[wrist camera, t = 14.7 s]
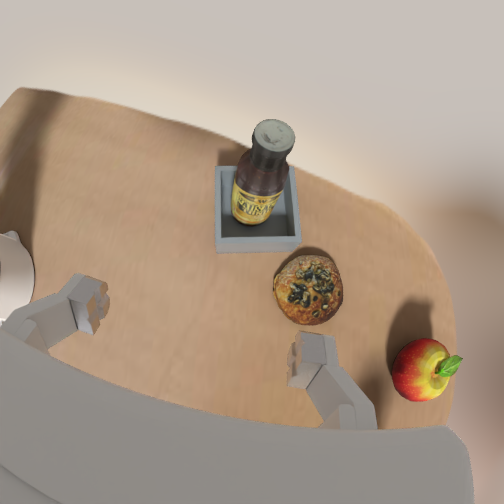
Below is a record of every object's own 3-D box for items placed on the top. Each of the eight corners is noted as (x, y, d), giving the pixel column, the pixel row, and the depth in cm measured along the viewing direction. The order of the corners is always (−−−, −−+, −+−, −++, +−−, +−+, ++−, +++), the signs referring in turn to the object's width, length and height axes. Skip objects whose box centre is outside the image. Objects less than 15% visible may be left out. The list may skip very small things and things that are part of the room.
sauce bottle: (230, 229, 44) (235, 162, 25) (229, 191, 45) (234, 109, 26) (273, 228, 44) (308, 163, 25) (270, 191, 46) (299, 111, 27)
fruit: (378, 349, 43) (412, 354, 33) (425, 329, 44) (462, 328, 34) (386, 405, 41) (419, 420, 31) (432, 381, 42) (467, 389, 32)
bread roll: (331, 334, 43) (339, 333, 38) (263, 314, 44) (263, 310, 39) (348, 268, 46) (358, 259, 41) (284, 248, 47) (286, 237, 42)
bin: (216, 253, 44) (215, 243, 38) (216, 184, 46) (215, 166, 41) (292, 251, 45) (301, 241, 39) (286, 183, 48) (293, 166, 42)
